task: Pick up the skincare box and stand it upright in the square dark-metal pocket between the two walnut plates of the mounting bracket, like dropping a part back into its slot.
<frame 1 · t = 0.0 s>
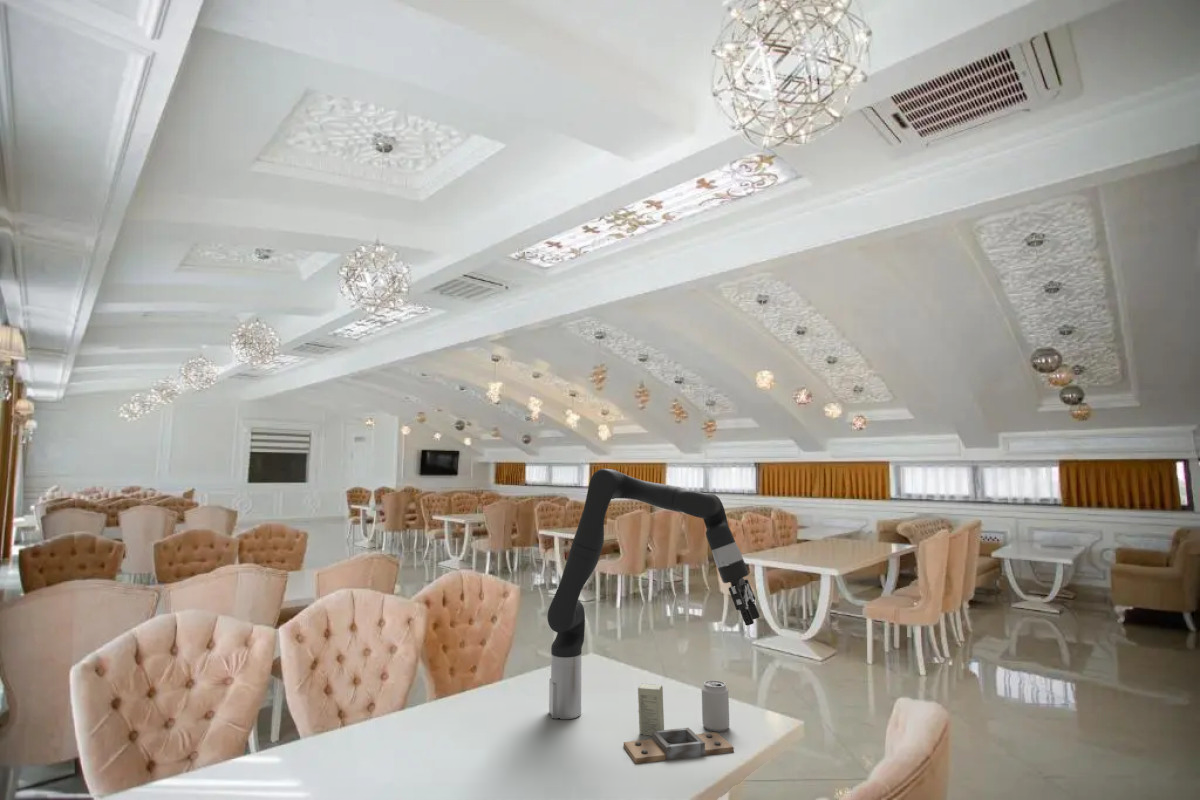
hand: (753, 621, 160), 31 cm above the table, tool tilted 20°, fingers open, 8 cm apart
skincare box: (651, 733, 164), on the table
mounting bracket: (678, 749, 154), on the table
can: (716, 728, 168), on the table
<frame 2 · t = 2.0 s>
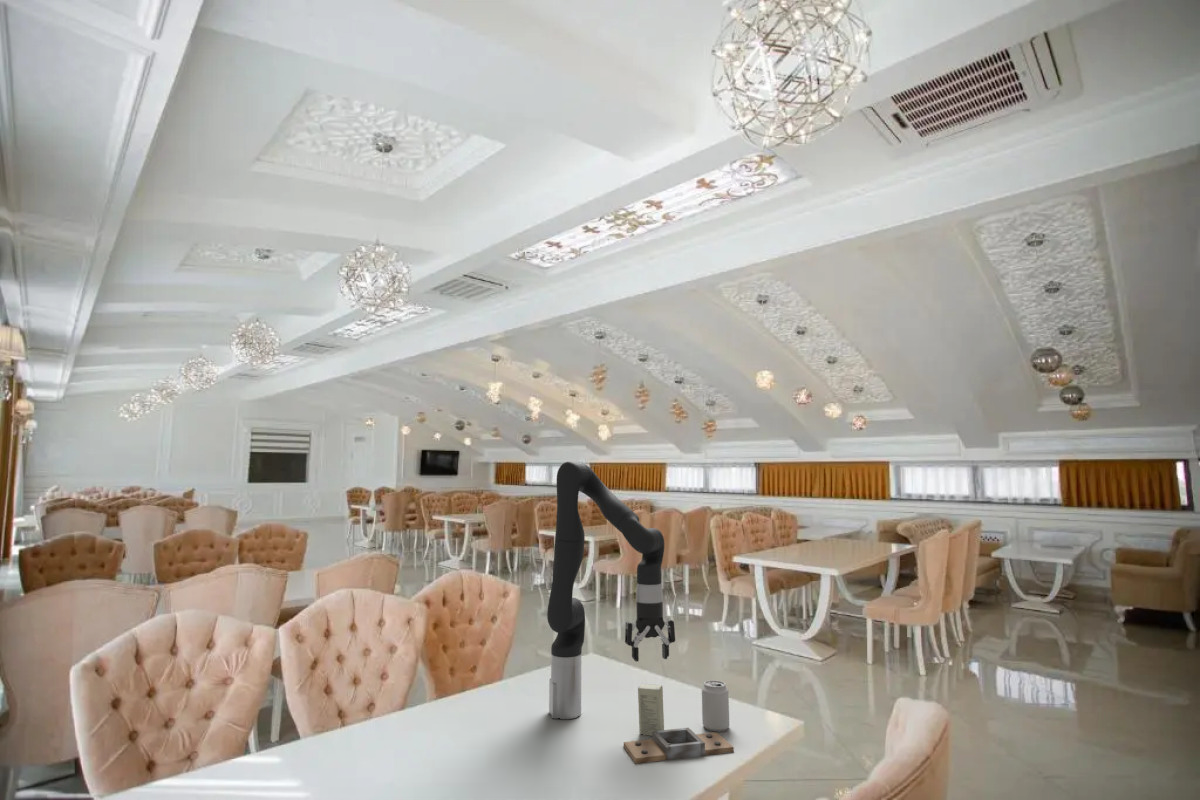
hand: (650, 659, 168), 19 cm above the table, tool pointing down, fingers open, 8 cm apart
nothing on the table moved.
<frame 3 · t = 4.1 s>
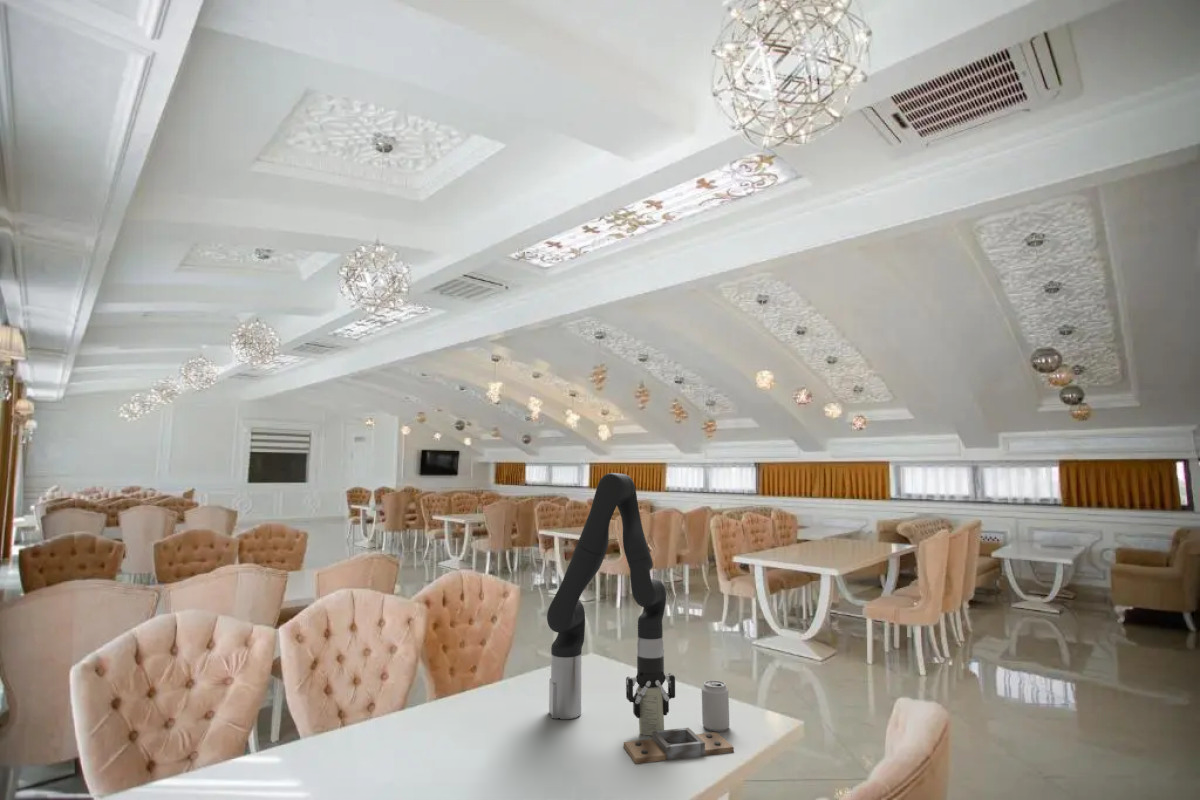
hand: (651, 715, 165), 4 cm above the table, tool pointing down, fingers closed on skincare box, 7 cm apart
skincare box: (651, 733, 164), on the table, touching gripper
everything else where it was.
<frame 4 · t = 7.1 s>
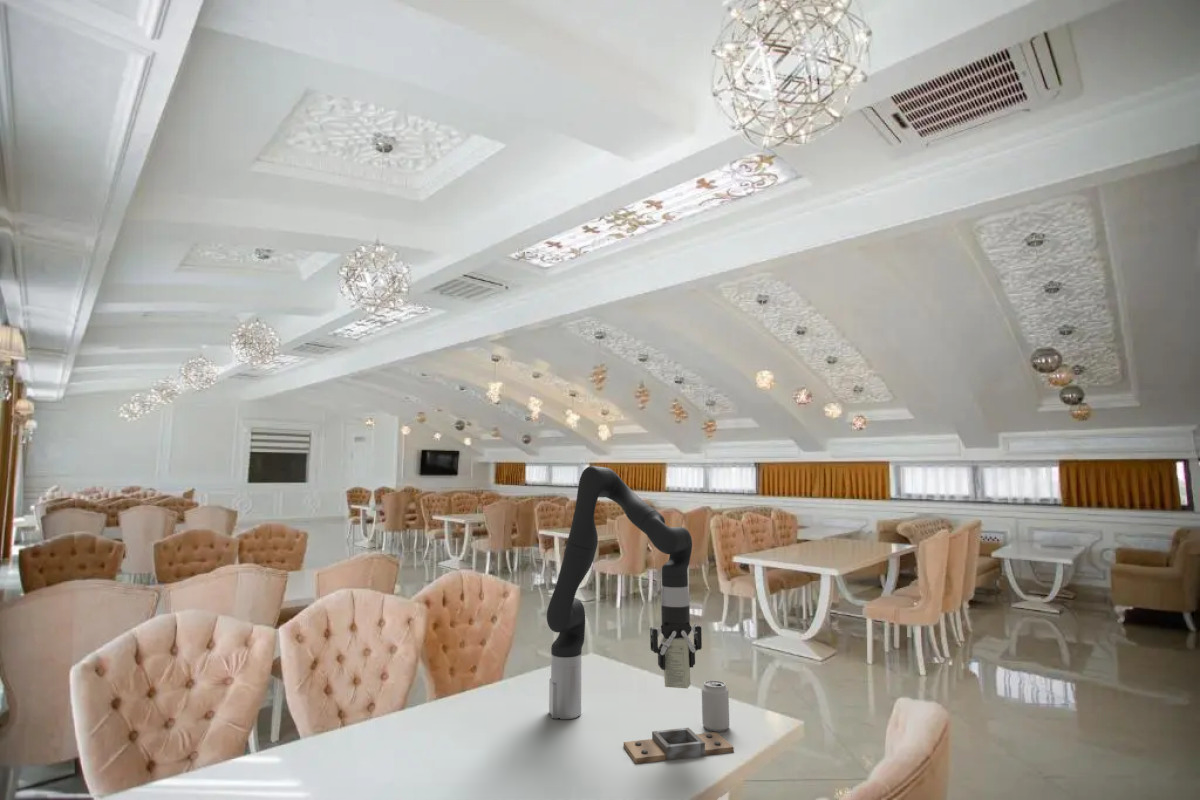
hand: (676, 667, 157), 20 cm above the table, tool pointing down, fingers closed on skincare box, 7 cm apart
skincare box: (677, 686, 156), point 15 cm above the table, touching gripper
everything else where it was.
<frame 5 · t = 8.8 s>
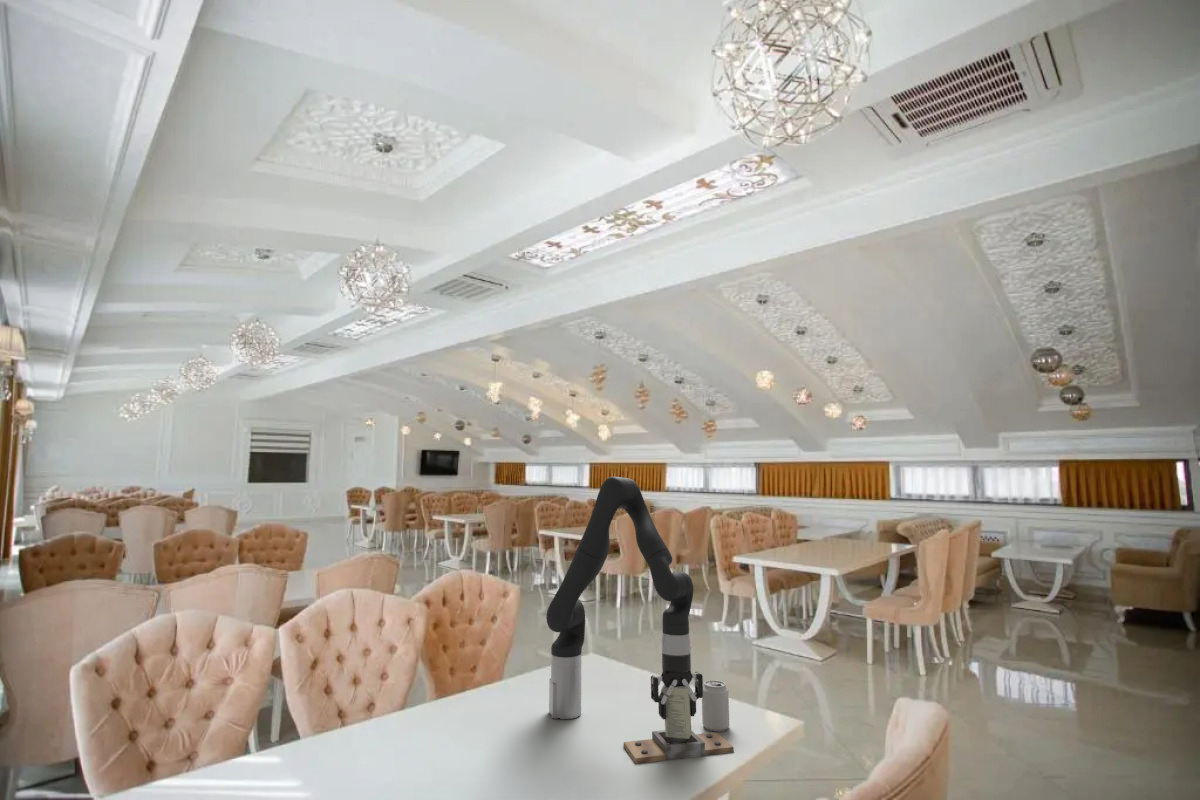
hand: (677, 716, 155), 8 cm above the table, tool pointing down, fingers closed on skincare box, 7 cm apart
skincare box: (678, 736, 154), point 3 cm above the table, touching gripper
everything else where it was.
when the fingers open (6 cm above the table, at t = 10.2 s): skincare box drops 1 cm, resting in mounting bracket.
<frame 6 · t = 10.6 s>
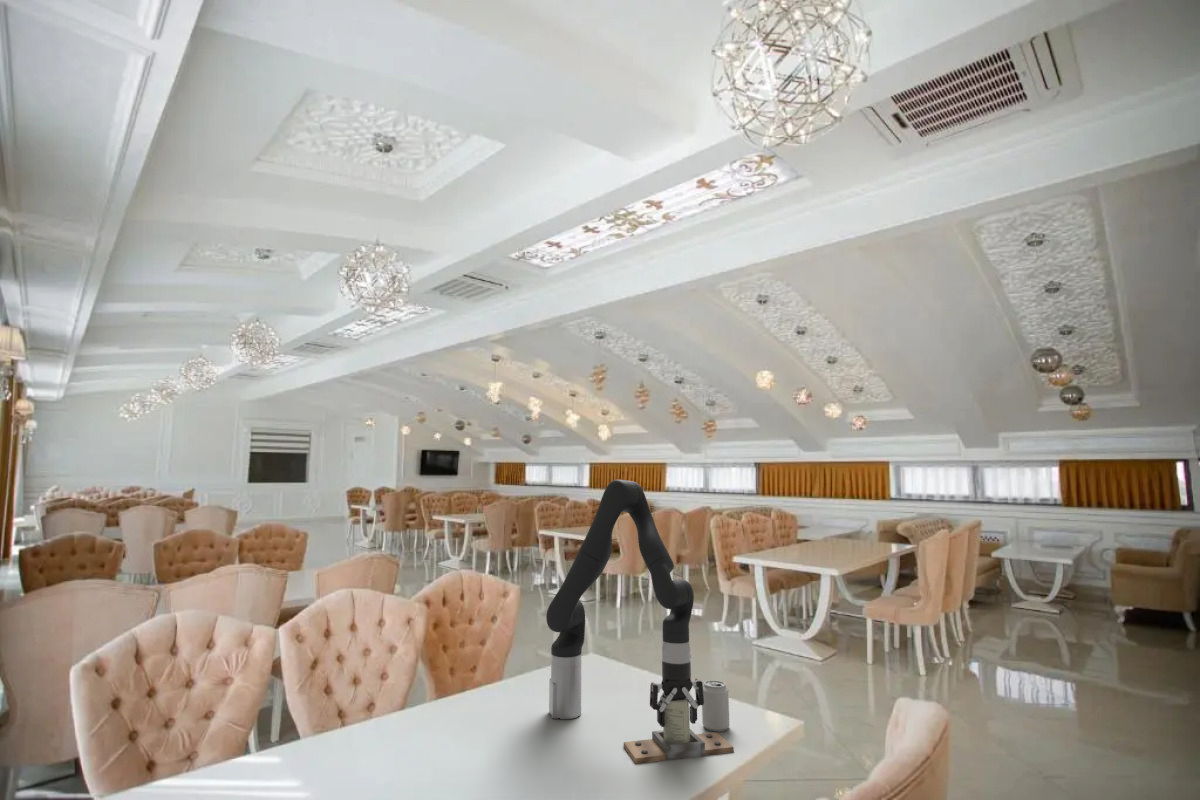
hand: (677, 724, 155), 6 cm above the table, tool pointing down, fingers open, 8 cm apart
skincare box: (676, 750, 154), resting in mounting bracket, touching gripper
everything else where it was.
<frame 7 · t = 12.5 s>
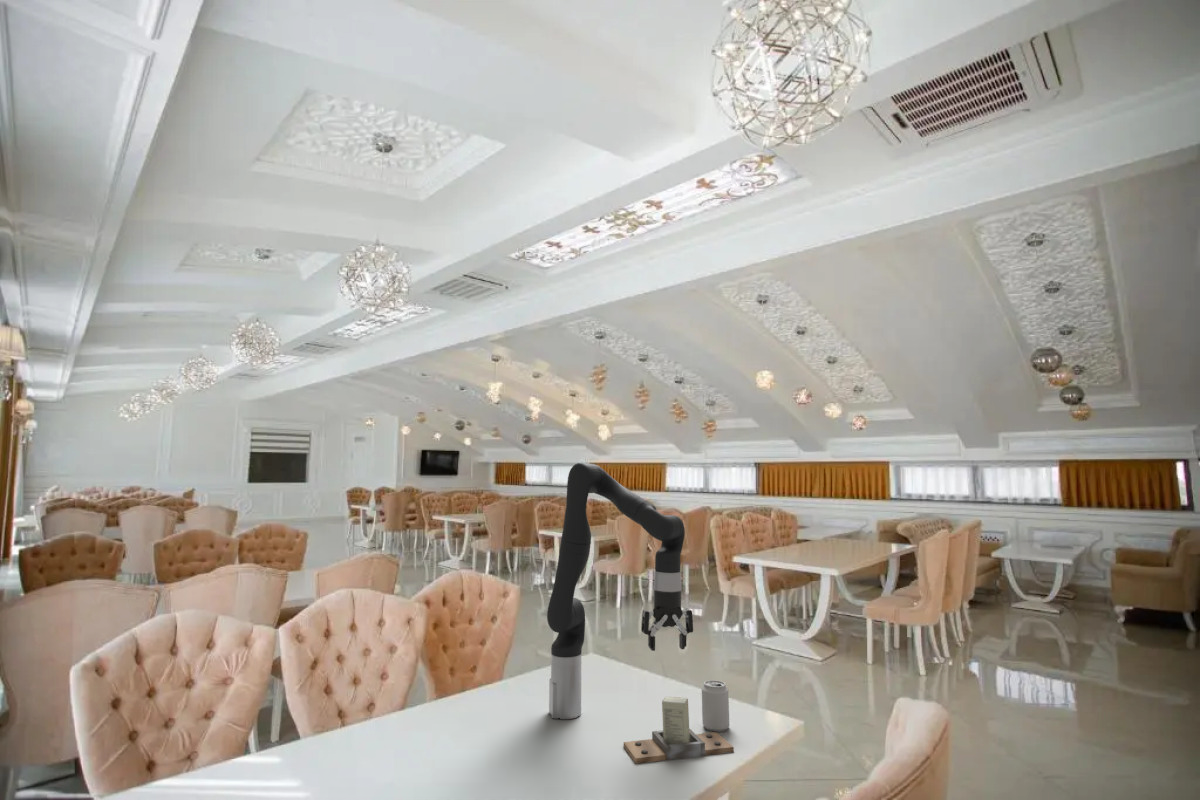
hand: (667, 649, 163), 23 cm above the table, tool pointing down, fingers open, 8 cm apart
skincare box: (676, 750, 154), resting in mounting bracket
everything else where it was.
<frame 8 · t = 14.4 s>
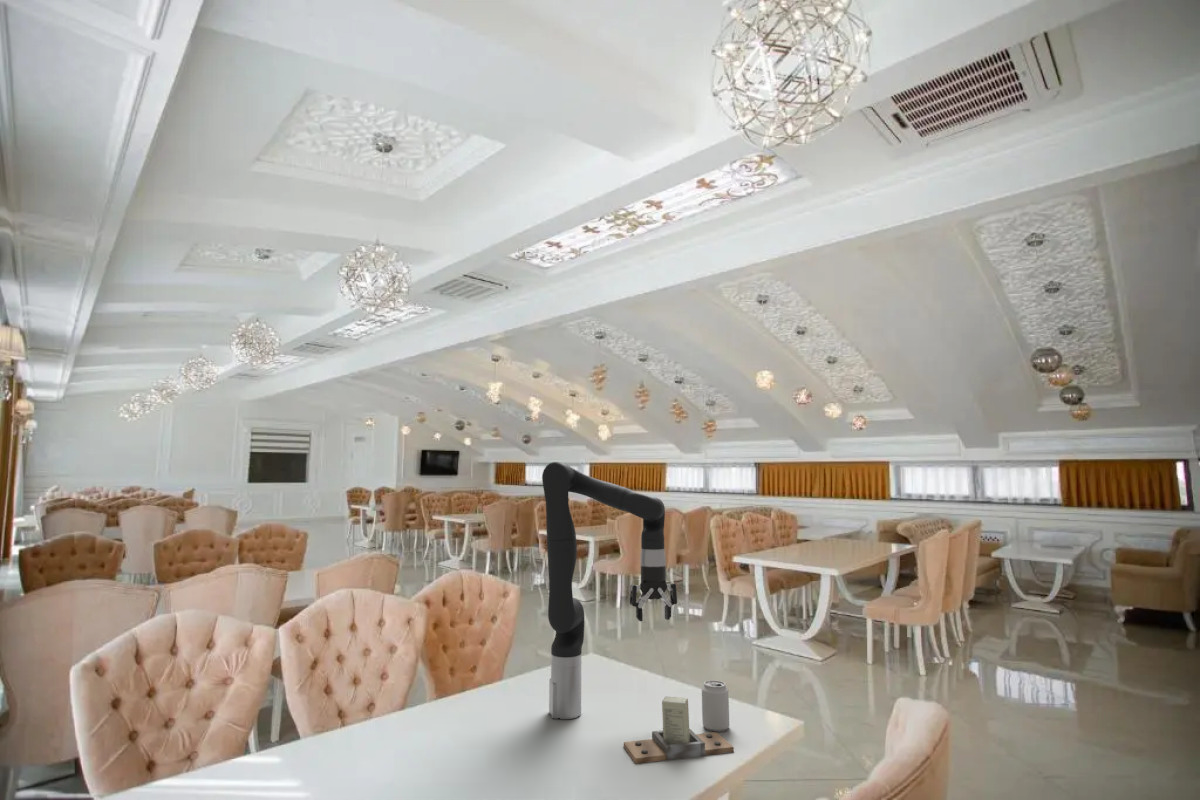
hand: (653, 620, 178), 28 cm above the table, tool pointing down, fingers open, 8 cm apart
nothing on the table moved.
at the end: skincare box 0.4 cm off-centre on the mounting bracket, point 0.0 cm above the mounting bracket's base; skincare box tilted 0°; the gripper is holding nothing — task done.
